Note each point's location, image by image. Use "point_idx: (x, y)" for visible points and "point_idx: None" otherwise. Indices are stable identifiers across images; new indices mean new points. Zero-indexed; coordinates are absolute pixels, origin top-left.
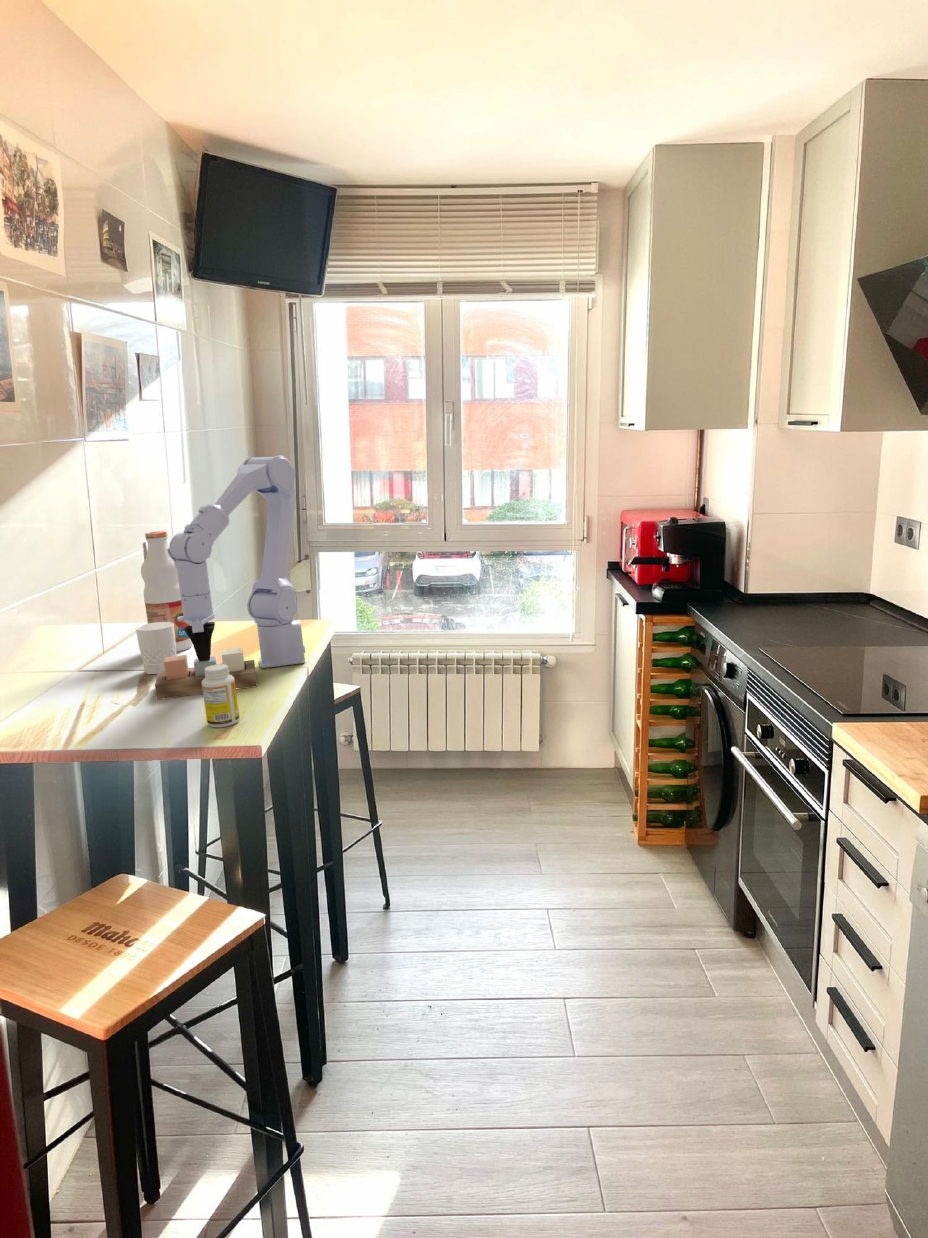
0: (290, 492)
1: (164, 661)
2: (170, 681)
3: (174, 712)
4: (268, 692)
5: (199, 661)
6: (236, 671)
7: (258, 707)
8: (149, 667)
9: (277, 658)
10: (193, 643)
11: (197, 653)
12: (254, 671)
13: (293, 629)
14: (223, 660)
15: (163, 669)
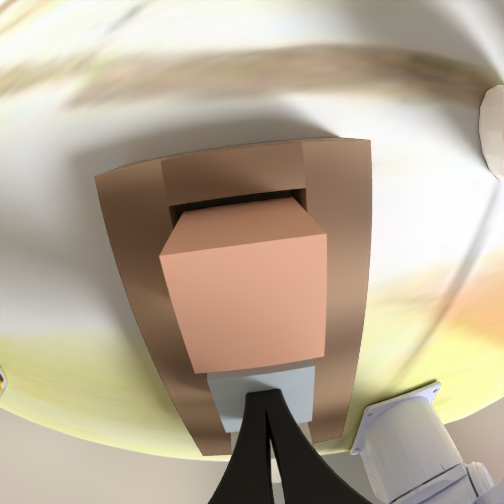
0: None
1: (183, 253)
2: (133, 246)
3: (7, 268)
4: (152, 436)
5: (243, 394)
6: (224, 431)
7: (62, 415)
8: (499, 99)
9: (367, 440)
10: (222, 479)
11: (242, 427)
12: (208, 455)
13: (383, 498)
14: (232, 446)
15: (489, 143)
